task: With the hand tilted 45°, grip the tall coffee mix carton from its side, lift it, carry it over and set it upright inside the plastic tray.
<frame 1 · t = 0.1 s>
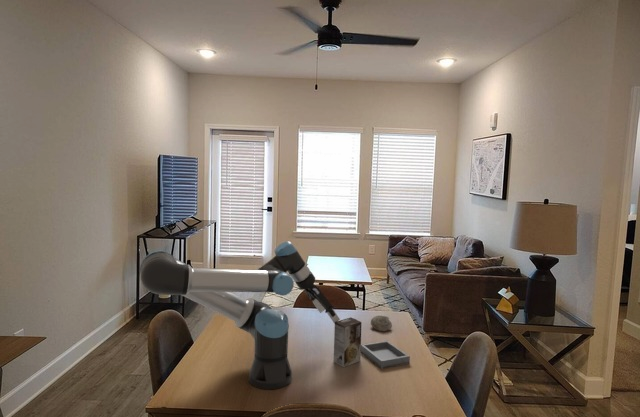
hand: (329, 315, 170), 15 cm above the table, fingers open, 13 cm apart
coffee box: (346, 361, 163), on the table
tray: (384, 357, 168), on the table
fossilized seashell: (381, 327, 201), on the table
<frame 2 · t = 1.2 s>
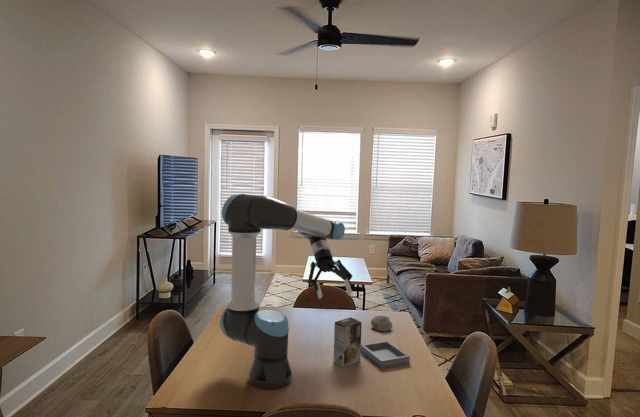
hand: (335, 295, 173), 23 cm above the table, fingers open, 13 cm apart
nothing on the table moved.
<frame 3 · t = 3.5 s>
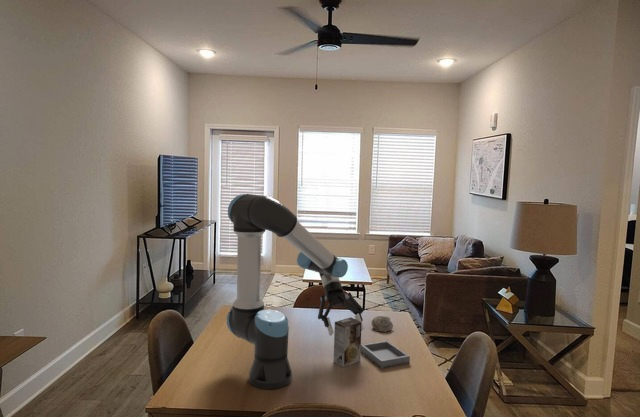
hand: (347, 332, 166), 11 cm above the table, fingers open, 13 cm apart
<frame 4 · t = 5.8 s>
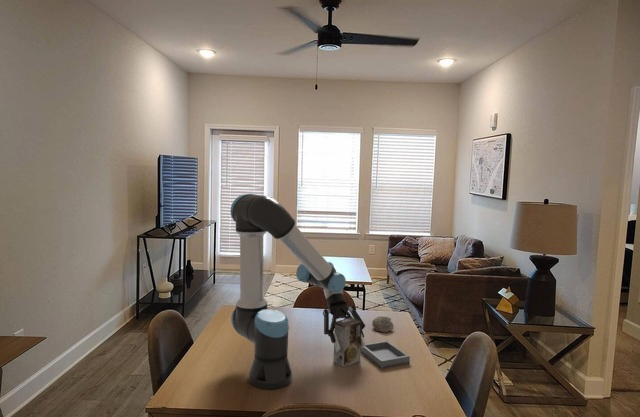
hand: (351, 348, 160), 7 cm above the table, fingers closed on coffee box, 10 cm apart
coffee box: (346, 361, 163), on the table, touching gripper
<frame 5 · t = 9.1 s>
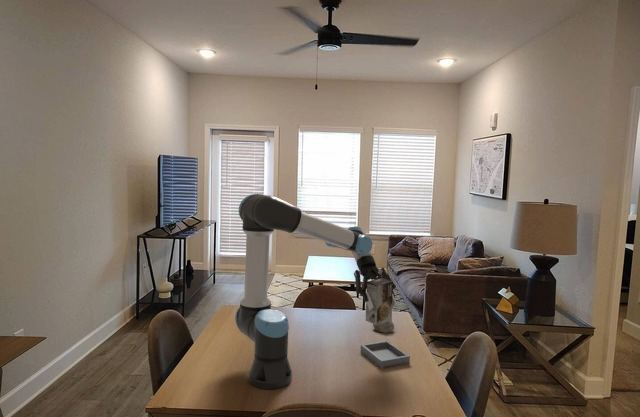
hand: (383, 307, 163), 22 cm above the table, fingers closed on coffee box, 10 cm apart
coffee box: (378, 321, 166), point 15 cm above the table, touching gripper
when the fingers open (8 cm above the table, at t = 12.8 s): coffee box drops 1 cm, resting on tray.
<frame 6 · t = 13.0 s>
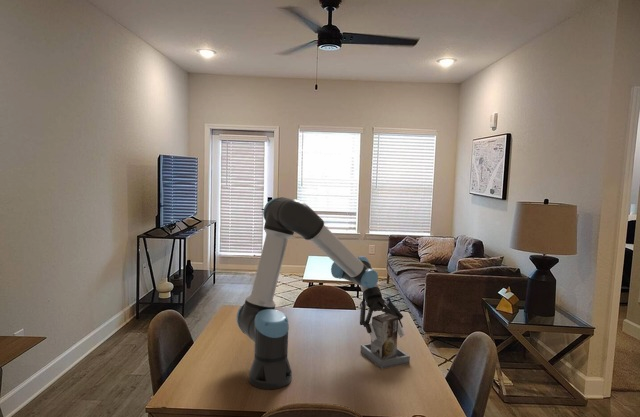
hand: (388, 338, 165), 9 cm above the table, fingers open, 12 cm apart
coffee box: (383, 356, 168), point 1 cm above the table, touching tray
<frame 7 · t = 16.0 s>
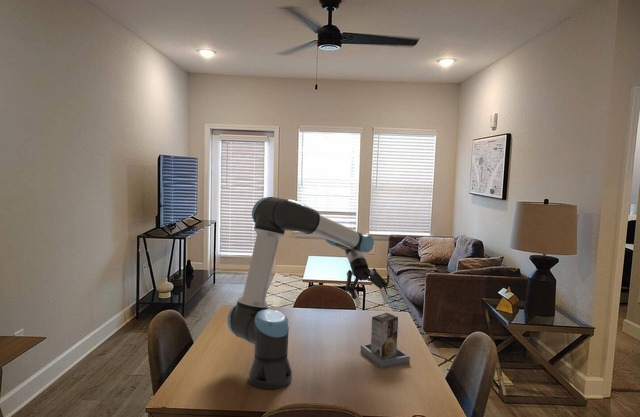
hand: (373, 303, 176), 19 cm above the table, fingers open, 13 cm apart
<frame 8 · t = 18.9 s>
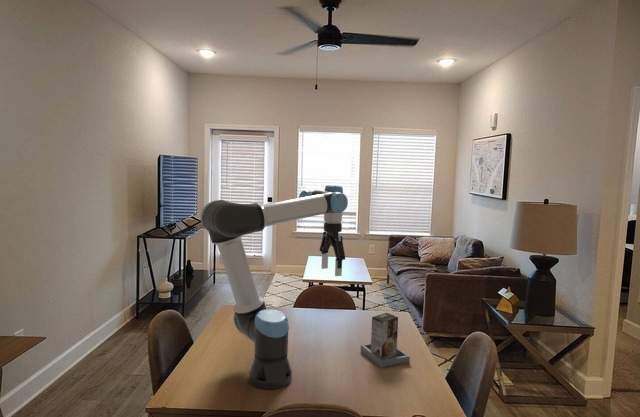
hand: (331, 272, 176), 32 cm above the table, fingers open, 13 cm apart
at the end: coffee box inside the target area on the tray (0.4 cm from its centre), point 0.6 cm above the tray's base; coffee box tilted 0°; the gripper is holding nothing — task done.
